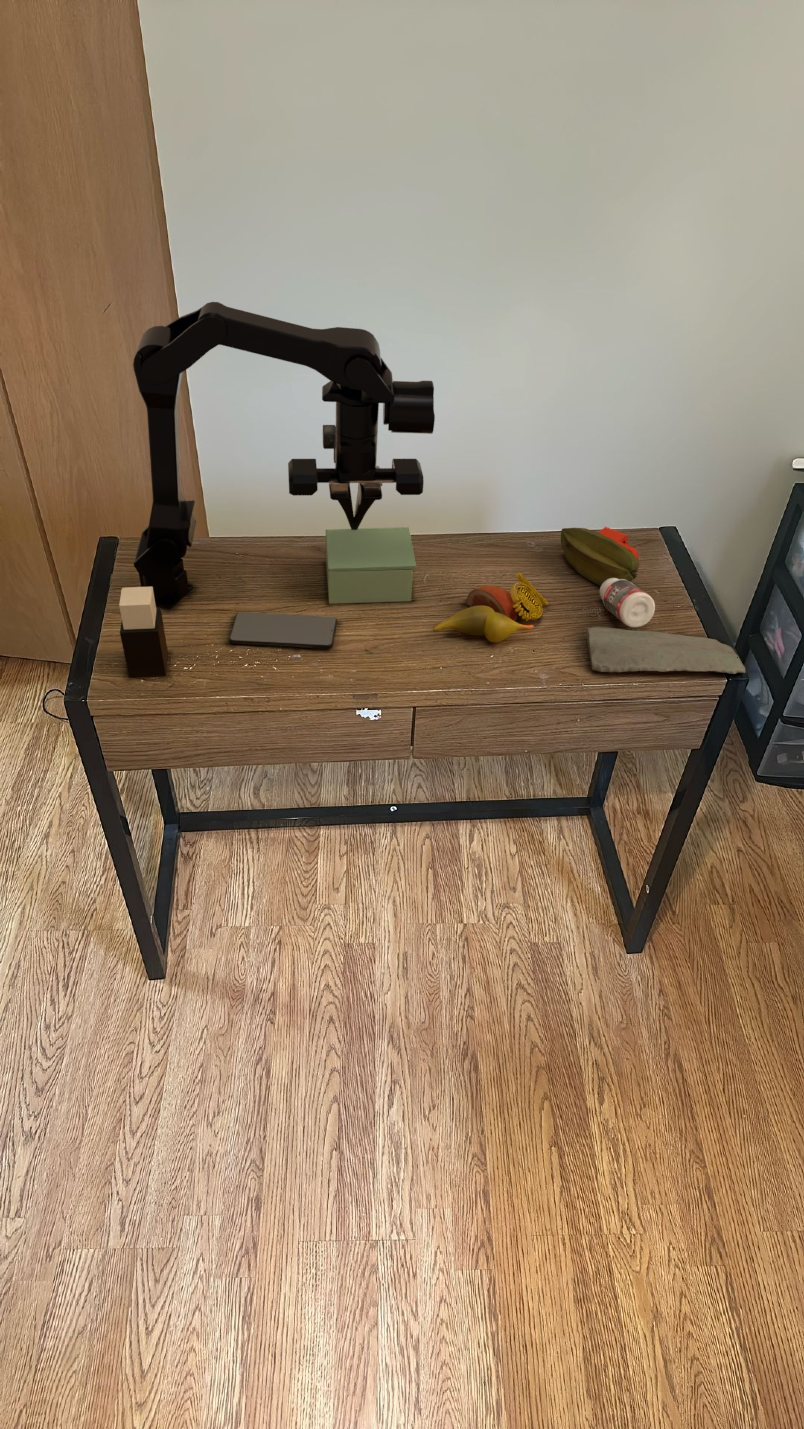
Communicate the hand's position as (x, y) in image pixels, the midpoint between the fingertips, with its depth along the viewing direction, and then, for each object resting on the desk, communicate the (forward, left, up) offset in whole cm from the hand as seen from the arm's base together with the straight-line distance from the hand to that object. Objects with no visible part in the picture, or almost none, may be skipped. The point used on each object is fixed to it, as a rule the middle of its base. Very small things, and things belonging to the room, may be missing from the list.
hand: (354, 528), depth 142 cm
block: (-17, -29, -4) cm, 34 cm away
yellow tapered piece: (+19, +2, -10) cm, 22 cm away
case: (+1, +4, -12) cm, 12 cm away
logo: (+25, +11, -9) cm, 29 cm away
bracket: (+31, +27, -10) cm, 43 cm away
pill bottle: (+42, +10, -7) cm, 43 cm away
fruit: (+33, +26, -9) cm, 43 cm away
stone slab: (+45, +12, -11) cm, 48 cm away
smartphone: (-4, -14, -12) cm, 19 cm away
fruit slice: (+22, +8, -8) cm, 24 cm away
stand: (-17, -29, -12) cm, 36 cm away
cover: (+1, +4, -6) cm, 7 cm away
